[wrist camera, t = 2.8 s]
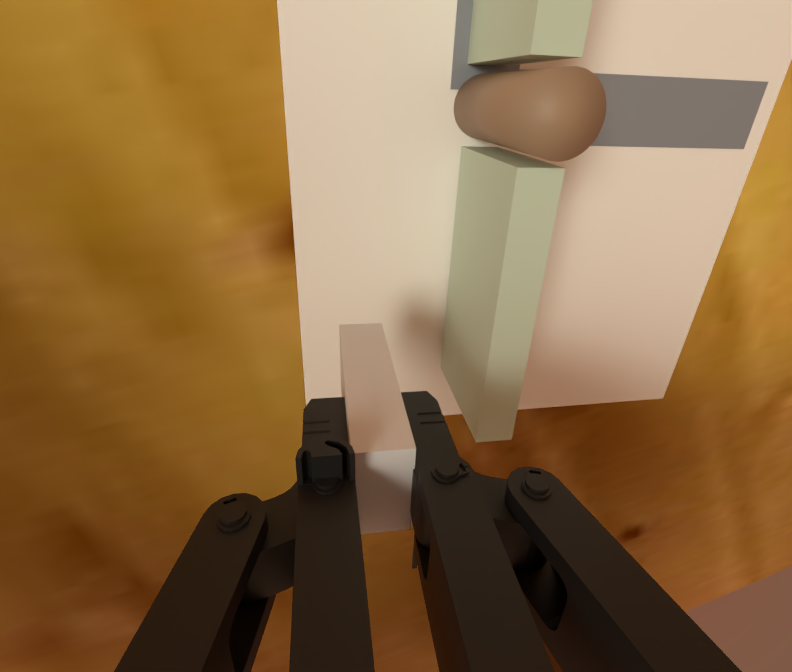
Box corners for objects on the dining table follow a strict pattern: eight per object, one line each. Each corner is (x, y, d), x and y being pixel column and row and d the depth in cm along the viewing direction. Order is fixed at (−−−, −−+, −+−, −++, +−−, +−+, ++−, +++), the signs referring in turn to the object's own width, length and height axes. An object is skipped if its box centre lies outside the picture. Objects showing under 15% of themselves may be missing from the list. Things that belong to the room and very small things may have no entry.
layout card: (307, 422, 26) (307, 426, 25) (228, -689, 10) (226, -712, 10) (659, 395, 29) (663, 398, 29) (980, -464, 14) (995, -476, 14)
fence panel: (440, 367, 24) (475, 442, 19) (461, 146, 19) (517, 167, 14) (469, 365, 25) (511, 439, 20) (497, 146, 20) (565, 167, 14)
